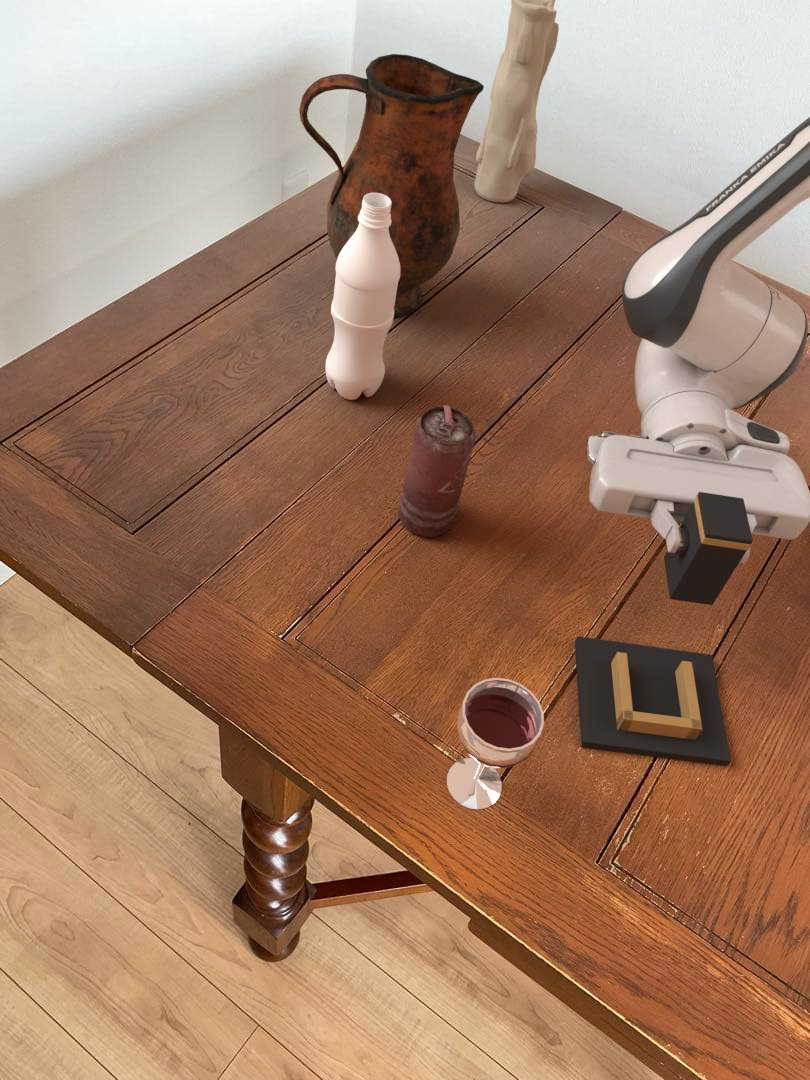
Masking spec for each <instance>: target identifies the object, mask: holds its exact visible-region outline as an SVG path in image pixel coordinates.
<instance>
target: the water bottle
mask: <svg viewBox="0 0 810 1080" xmlns="http://www.w3.org/2000/svg"><path fill="white" fill-rule="evenodd" d="M391 204H392V202H391V200H390V198H389V197H387V196H386V195H383V194H380V193H369V194H366V195H365V196H364V198H363V200H362V208H361V211H360V214H359V215H358V221H359V225H358V228H357V230H356V231H355V233H354V234H353V235H352V237H351V238H350V239H349V240H348V242H347V243H346V244H345V246H344V247H343V249H342V250H341V252H340V254H339V256H338V258H337V260H336V262H335V267H334V269H335V278H334V279H335V280H334V289H333V298H332V301H331V306H330V315H331V317H332V320H333V325H334V336H333V341H332V345H331V347H330V350H329V352H328V354H327V355H326V359H325V366H324V367H325V369H324V370H325V377H326V380H327V383H328V385H329V386H330V388H331V389H333V390H334V389H336V391H337V393H338V395H339V396H340V397H342V398H343V399H345V400H349V401H354V400H357V399H358V398H360V396H361V395H362V394H363V395H364V396H365V397H366V398H369V397H372V396H373V395H374V394H376V392H377V390H379V388H380V387H381V385H382V384H383V381H384V377H385V373H386V366H385V363H384V358H383V357H384V356H383V352H384V345H385V340H386V337H387V335H388V333H389V331H390V329H391V327H392V325H393V323H394V318H395V317H394V305H395V299H396V292H397V286H398V281H399V279H400V270H401V269H400V262H399V258H398V255H397V252H396V250H395V247H394V245H393V243H392V240H391V238H390V235H389V227H390V225H391V214H390V211H391Z"/></svg>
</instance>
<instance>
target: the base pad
mask: <svg viewBox="0 0 810 1080" xmlns="http://www.w3.org/2000/svg"><path fill="white" fill-rule="evenodd" d="M574 651H575V653H574V654H575V668H576V683H577V684H576V685H577V698H578V699H577V701H578V713H579V731H580V746H581V748H585V749H586V748H588V749H595V750H601V751H602V750H603V751H610V752H617V753H626V754H633V755H640V756H649V757H656V758H657V757H658V758H663V759H670V760H677V761H686V762H694V763H702V764H710V765H716V766H717V765H718V766H724V767H725V766H726V767H727V766H728V765H729V764H730V763H731V760H732V759H731V754H730V748H729V743H728V737H727V732H726V731H727V730H726V726H725V719H724V715H723V709H722V708H723V707H722V702H721V698H720V691H719V685H718V679H717V675H716V670H715V669H716V668H715V664H714V658H713V654H709V653H701V652H694V651H687V650H680V649H673V648H665V647H660V646H659V647H658V646H651V645H643V644H636V643H630V642H629V643H628V642H621V641H616V640H615V641H614V640H607V639H599V638H593V637H587V636H586V637H585V636H576V638H575V641H574Z"/></svg>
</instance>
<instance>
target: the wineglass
mask: <svg viewBox="0 0 810 1080" xmlns="http://www.w3.org/2000/svg"><path fill="white" fill-rule="evenodd" d="M544 714H545V713H544V710H543V708H542V706H541V702H540V701H539V699H538V698H537V697H536V695H535V694H534V693H533V692H532V691H531V690H529V689H528V688H527V687H526V686H525V685H523V684H521V683H519V682H517V681H514V680H512V679H510V678H501V677H493V678H485V679H483V680H481V681H479V682H477V683H475V684H473V685H472V687H470V689H469V690H468V691H467V692H466V694H465V696H464V697H463V700H462V704H461V705H460V708H459V710H458V713H457V716H456V734H457V736H458V740H459V744H460V746H461V748H463V750H464V751H465V753H466V754H467V756H468V757H466V758H461V759H459V760H458V761H456V762H454V764H452V766H451V767H450V768H449V770H448V773H447V775H446V786H447V789H448V792H449V794H450V795H451V797H452V798H453V800H455V801H456V802H457V803H458V804H459V805H461V806H463V807H464V808H467V809H472V810H483V809H487V808H489V807H491V806H492V805H494V804H496V802H497V801H498V800H499V798H500V797H501V794H502V792H503V791H502V789H503V788H502V787H503V786H502V780H501V777H500V774H499V773H498V771H497V770H496V769H506V768H511V767H514V766H516V765H519V764H521V763H522V762H524V761H526V760H527V759H528V758H529V757H530V755H531V754H532V753H533V752H534V751H535V749H536V746H537V743H538V741H539V737H540V736H541V734H542V732H543V728H544V726H545V715H544Z"/></svg>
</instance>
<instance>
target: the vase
mask: <svg viewBox="0 0 810 1080" xmlns="http://www.w3.org/2000/svg"><path fill="white" fill-rule="evenodd" d="M555 3H556V0H511V3H510V4H511V7H510V13H509V19H508V25H507V36H506V41H505V47H504V49H503V52H502V53H501V56H500V58H499V62H498V66H497V69H496V72H495V75H494V78H493V82H492V85H491V89H490V95H489V98H490V107H489V113H488V119H487V123H486V124H485V126H484V131H483V135H482V138H481V142H480V144H479V146H478V149H477V151H476V156H475V161H476V162H477V163H478V166H477V170H476V174H475V179H474V191H475V193H476V194H477V195H478V196H479V197H481V198H482V199H485V200H486V201H489V202H494V203H509V202H511V201H512V200H514V199H515V197H517V194H518V192H519V188H520V185H521V182H522V180H523V179H525V178H528V177H530V176H531V175H532V174H533V172H534V169H535V166H536V161H537V160H536V159H537V141H538V140H537V139H538V136H537V135H538V123H537V117H536V115H537V106H538V100H539V96H540V90H541V86H542V83H543V81H544V78H545V76H546V74H547V71H548V68H549V66H550V62H551V61H552V58H553V56H554V53H555V51H556V47H557V42H558V37H559V31H560V28H559V26H560V25H559V23H558V22H556V19H557V12H558V11H557V10H556V9H555V8H554V7H555Z"/></svg>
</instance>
